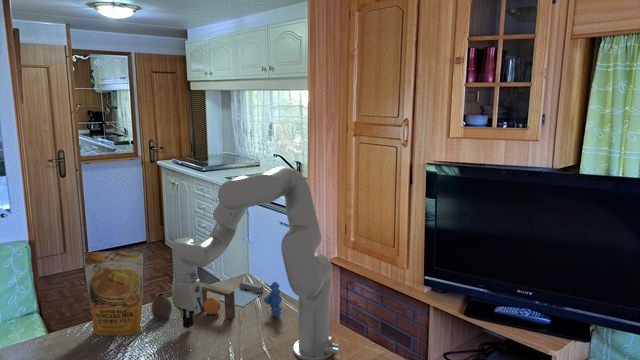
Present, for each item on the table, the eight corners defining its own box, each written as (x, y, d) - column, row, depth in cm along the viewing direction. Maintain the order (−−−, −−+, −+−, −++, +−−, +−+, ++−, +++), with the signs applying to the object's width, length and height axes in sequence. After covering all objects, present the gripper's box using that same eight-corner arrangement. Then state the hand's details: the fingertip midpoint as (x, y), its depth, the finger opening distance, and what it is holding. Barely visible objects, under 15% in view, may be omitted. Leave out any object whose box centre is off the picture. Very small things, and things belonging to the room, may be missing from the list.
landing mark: (261, 294, 181) (261, 294, 181) (242, 307, 170) (242, 306, 170) (237, 288, 186) (237, 287, 186) (217, 300, 176) (217, 299, 176)
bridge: (203, 306, 171) (202, 282, 169) (234, 315, 164) (234, 290, 162) (197, 309, 168) (196, 285, 166) (229, 319, 161) (228, 294, 159)
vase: (175, 313, 165) (174, 290, 164) (167, 322, 159) (166, 299, 157) (157, 312, 166) (155, 289, 164) (148, 321, 159) (146, 298, 158)
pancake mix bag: (94, 326, 156) (86, 249, 150) (150, 325, 156) (144, 249, 151) (85, 337, 149) (76, 256, 144) (143, 336, 150) (137, 256, 144)
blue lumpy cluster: (262, 307, 170) (262, 277, 168) (280, 306, 171) (280, 276, 169) (265, 323, 159) (264, 291, 157) (284, 321, 160) (284, 289, 158)
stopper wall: (262, 291, 183) (262, 286, 183) (260, 293, 182) (259, 287, 181) (243, 286, 188) (242, 280, 187) (240, 288, 186) (239, 282, 186)
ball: (225, 298, 166) (213, 302, 161) (222, 314, 166) (210, 318, 161) (213, 293, 169) (201, 296, 164) (210, 309, 169) (198, 312, 164)
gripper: (210, 275, 150) (212, 326, 154) (177, 267, 157) (180, 316, 160) (194, 284, 143) (197, 337, 147) (160, 274, 150) (163, 325, 154)
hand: (188, 326), depth 154 cm, fingers closed
